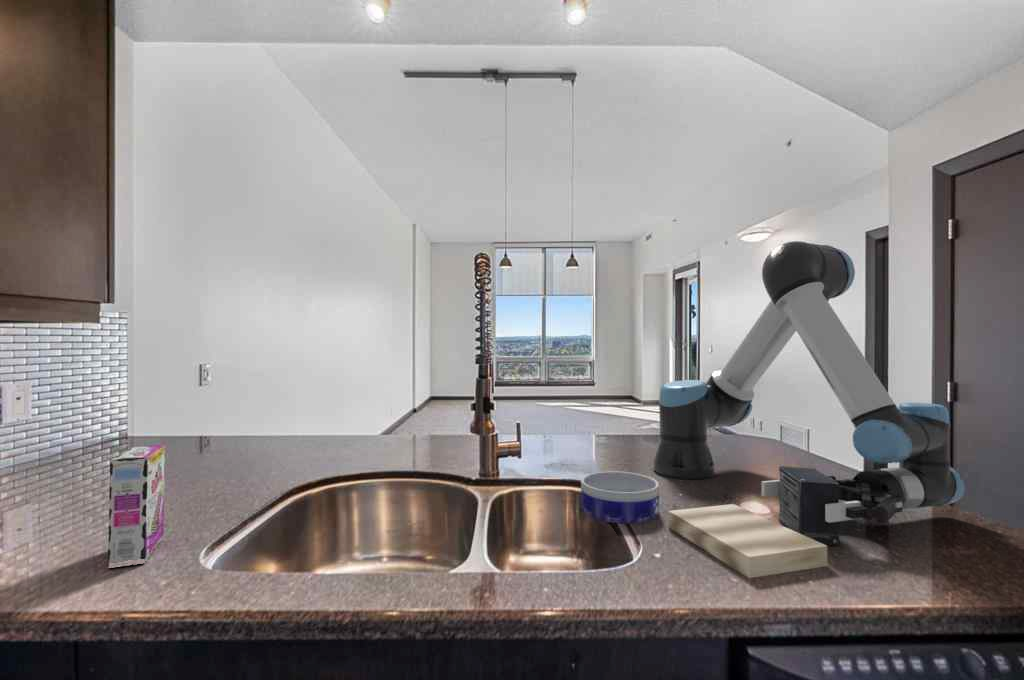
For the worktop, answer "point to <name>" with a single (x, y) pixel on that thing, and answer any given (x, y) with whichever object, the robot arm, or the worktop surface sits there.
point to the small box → (808, 503)
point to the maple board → (747, 540)
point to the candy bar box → (136, 503)
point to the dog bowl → (620, 497)
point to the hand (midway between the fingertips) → (792, 500)
